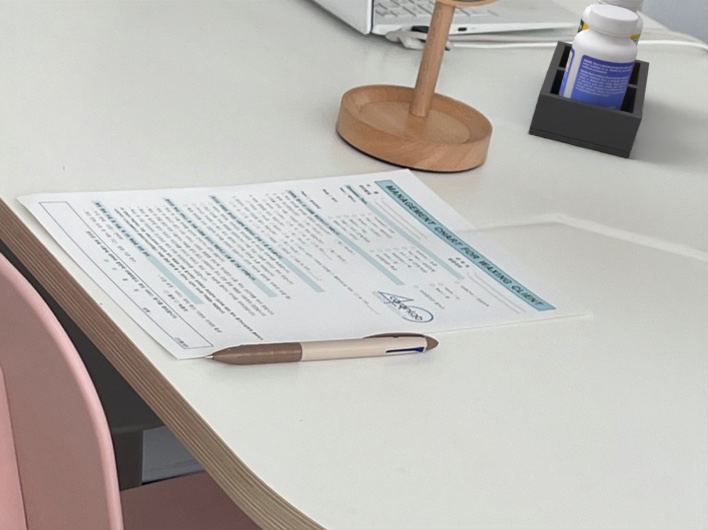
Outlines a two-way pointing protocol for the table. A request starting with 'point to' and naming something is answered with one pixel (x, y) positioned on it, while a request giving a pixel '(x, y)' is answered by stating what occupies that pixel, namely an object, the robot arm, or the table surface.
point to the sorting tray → (589, 111)
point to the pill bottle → (602, 58)
